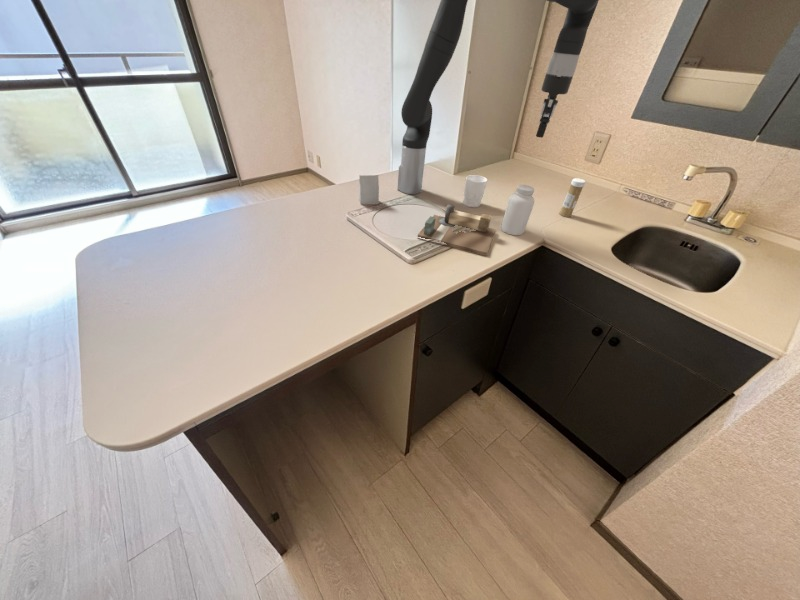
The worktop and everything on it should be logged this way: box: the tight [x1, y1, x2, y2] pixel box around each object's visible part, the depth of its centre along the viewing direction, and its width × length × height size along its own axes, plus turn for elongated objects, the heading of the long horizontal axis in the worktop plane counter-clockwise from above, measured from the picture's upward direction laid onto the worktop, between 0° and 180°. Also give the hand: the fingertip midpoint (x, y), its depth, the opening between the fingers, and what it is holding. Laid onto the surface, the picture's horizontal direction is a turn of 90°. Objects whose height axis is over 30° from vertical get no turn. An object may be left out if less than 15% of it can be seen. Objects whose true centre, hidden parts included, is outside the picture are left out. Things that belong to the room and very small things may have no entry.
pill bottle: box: [500, 184, 535, 236], centre depth 107 cm, size 8×8×15 cm
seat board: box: [417, 214, 497, 257], centre depth 105 cm, size 22×17×5 cm
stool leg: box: [444, 204, 492, 232], centre depth 107 cm, size 15×3×5 cm, turn 67°
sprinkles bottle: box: [558, 177, 586, 218], centre depth 122 cm, size 5×5×13 cm
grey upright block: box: [358, 174, 380, 205], centre depth 119 cm, size 4×7×10 cm, turn 103°
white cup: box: [462, 174, 488, 208], centre depth 125 cm, size 8×8×10 cm
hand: (540, 134), depth 104 cm, fingers open, 8 cm apart
